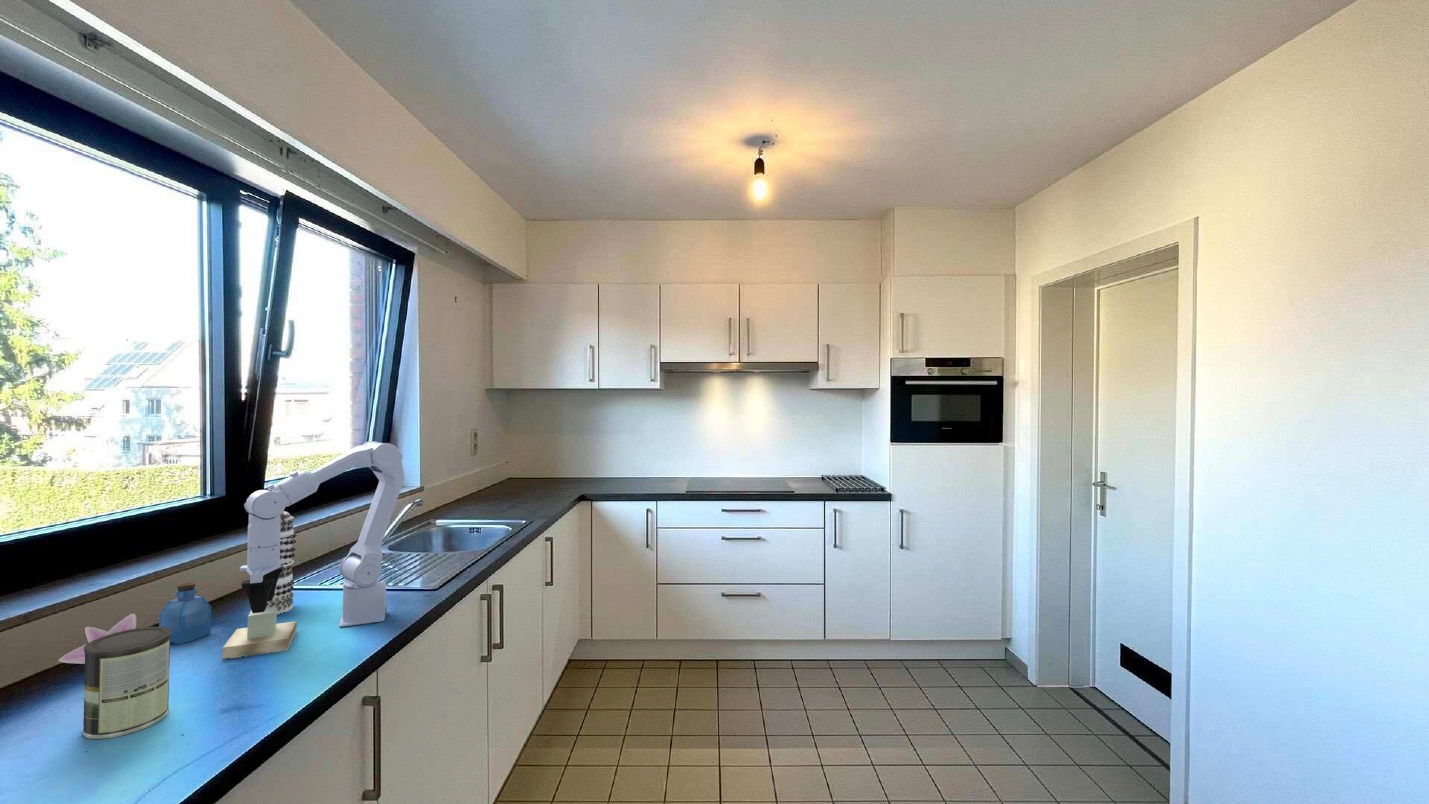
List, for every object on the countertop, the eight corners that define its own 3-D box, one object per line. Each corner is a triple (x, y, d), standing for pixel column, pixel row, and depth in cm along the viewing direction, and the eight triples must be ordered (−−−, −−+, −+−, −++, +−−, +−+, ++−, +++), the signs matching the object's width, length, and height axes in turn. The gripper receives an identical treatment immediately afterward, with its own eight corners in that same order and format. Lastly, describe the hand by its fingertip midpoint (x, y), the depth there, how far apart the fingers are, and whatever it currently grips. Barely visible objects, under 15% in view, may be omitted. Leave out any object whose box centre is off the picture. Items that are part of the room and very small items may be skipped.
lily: (44, 692, 108) (54, 653, 106) (84, 644, 118) (95, 608, 116) (127, 699, 113) (138, 662, 111) (159, 652, 123) (170, 618, 121)
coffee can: (61, 740, 91) (64, 651, 91) (122, 706, 102) (124, 626, 102) (132, 739, 92) (134, 651, 92) (185, 705, 103) (187, 626, 103)
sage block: (276, 628, 131) (276, 606, 131) (273, 635, 127) (273, 612, 127) (250, 632, 128) (251, 609, 129) (247, 639, 125) (247, 616, 125)
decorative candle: (282, 616, 144) (284, 516, 144) (240, 617, 143) (243, 516, 143) (302, 603, 153) (304, 509, 153) (263, 604, 152) (266, 509, 152)
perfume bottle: (180, 644, 127) (182, 589, 127) (158, 641, 129) (160, 587, 129) (210, 633, 133) (211, 581, 133) (189, 630, 135) (190, 579, 135)
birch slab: (296, 634, 135) (296, 621, 135) (287, 652, 125) (287, 638, 125) (236, 642, 130) (236, 628, 130) (222, 662, 120) (222, 647, 120)
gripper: (249, 539, 132) (248, 598, 132) (232, 555, 120) (230, 620, 120) (287, 536, 136) (285, 594, 136) (274, 551, 123) (273, 615, 123)
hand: (262, 606), depth 128 cm, fingers open, 7 cm apart
